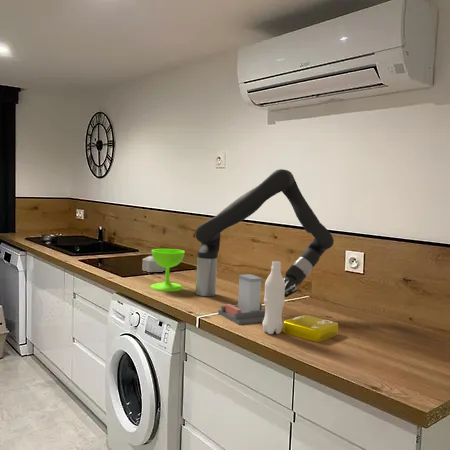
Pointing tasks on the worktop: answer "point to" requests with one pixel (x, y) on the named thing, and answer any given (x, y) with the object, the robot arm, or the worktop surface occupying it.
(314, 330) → the element tile
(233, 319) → the track
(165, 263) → the wineglass
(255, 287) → the grey tall block
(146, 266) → the lumpy-topped squat cylinder
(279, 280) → the water bottle
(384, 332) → the worktop surface
